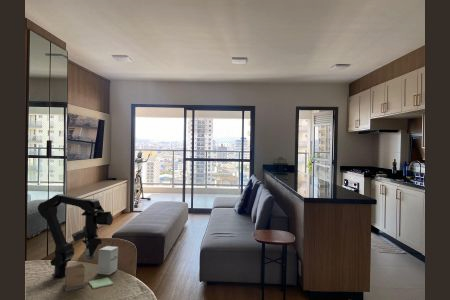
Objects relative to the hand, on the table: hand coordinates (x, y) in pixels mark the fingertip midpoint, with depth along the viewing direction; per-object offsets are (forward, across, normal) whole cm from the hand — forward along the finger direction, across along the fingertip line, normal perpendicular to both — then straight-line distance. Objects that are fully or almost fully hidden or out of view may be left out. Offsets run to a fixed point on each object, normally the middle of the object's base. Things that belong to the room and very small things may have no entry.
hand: (89, 255), depth 149 cm
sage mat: (+11, +11, +3) cm, 16 cm away
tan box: (+11, +8, -8) cm, 16 cm away
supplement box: (+11, -3, +10) cm, 15 cm away
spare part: (+1, 0, 0) cm, 1 cm away
